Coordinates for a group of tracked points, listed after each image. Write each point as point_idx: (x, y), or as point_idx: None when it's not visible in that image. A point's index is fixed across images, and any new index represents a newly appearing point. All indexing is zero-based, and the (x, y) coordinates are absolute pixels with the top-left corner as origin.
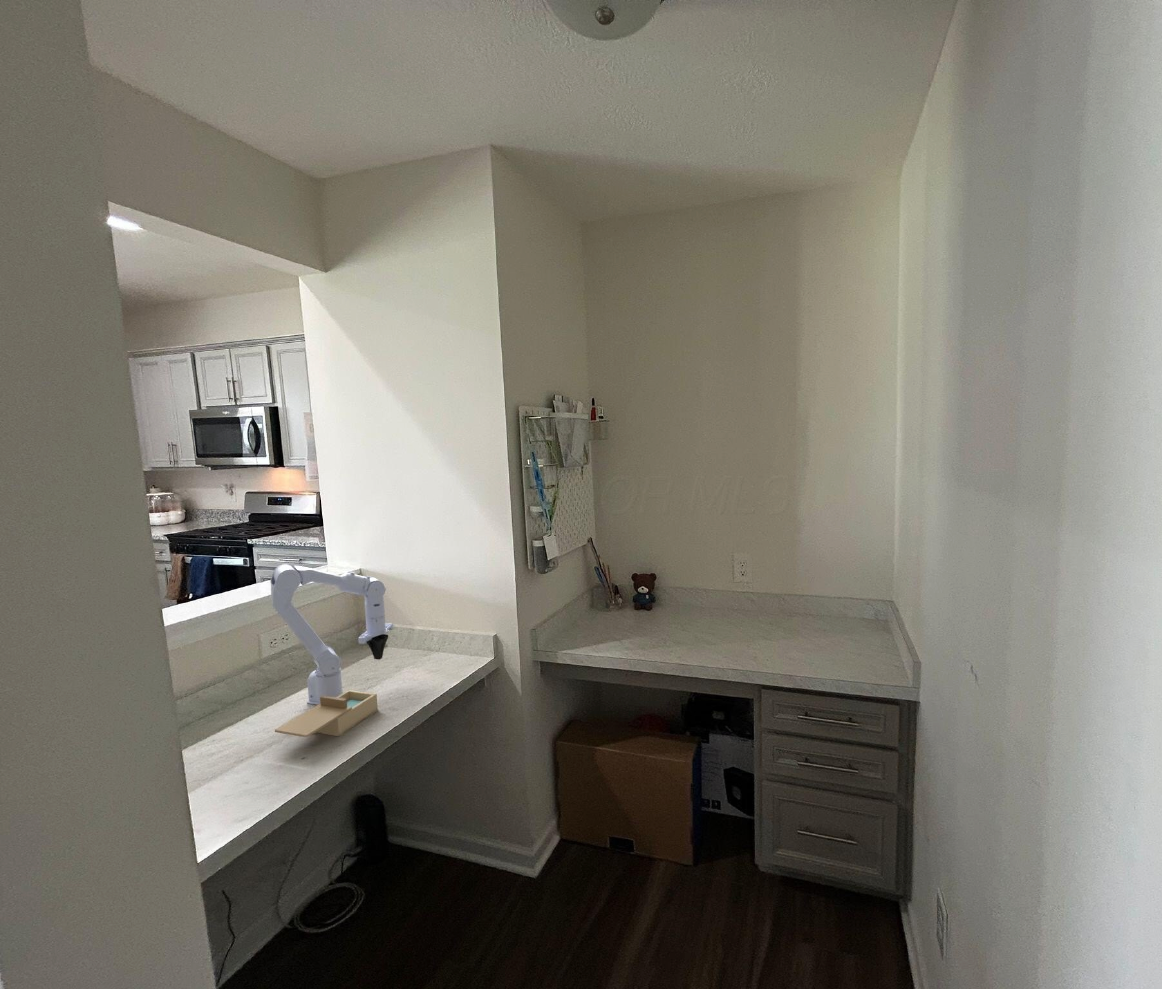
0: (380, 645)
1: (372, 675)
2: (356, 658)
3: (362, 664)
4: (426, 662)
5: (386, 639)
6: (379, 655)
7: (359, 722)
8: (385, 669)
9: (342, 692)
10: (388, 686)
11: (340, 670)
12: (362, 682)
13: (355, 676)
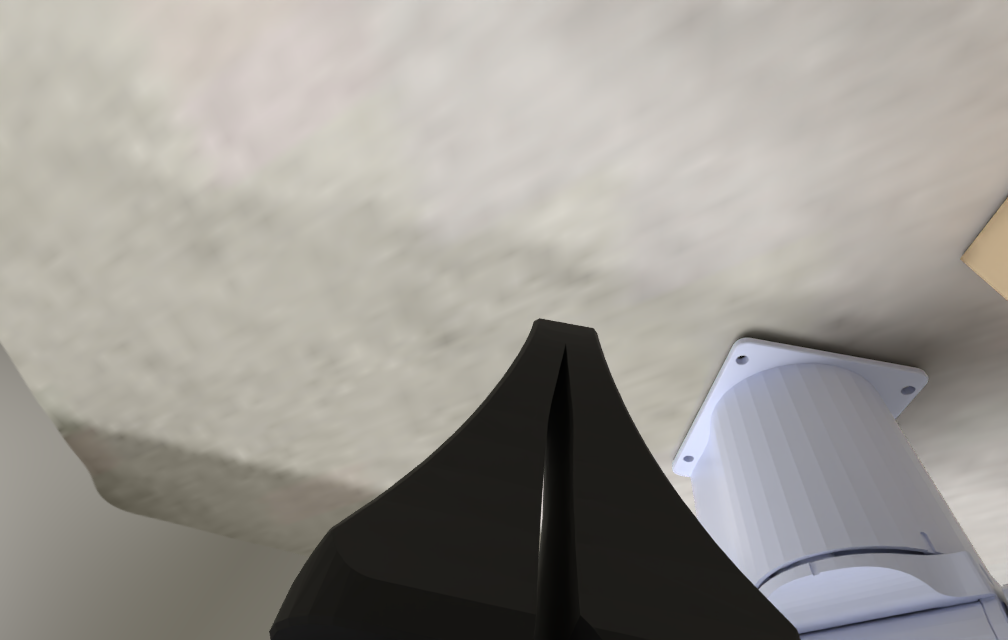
0: (630, 500)
1: (386, 339)
2: (239, 480)
3: (281, 438)
4: (3, 53)
5: (411, 521)
6: (607, 366)
7: None
8: (277, 305)
9: (784, 389)
10: (538, 138)
11: (870, 556)
12: (499, 350)
13: (428, 414)
